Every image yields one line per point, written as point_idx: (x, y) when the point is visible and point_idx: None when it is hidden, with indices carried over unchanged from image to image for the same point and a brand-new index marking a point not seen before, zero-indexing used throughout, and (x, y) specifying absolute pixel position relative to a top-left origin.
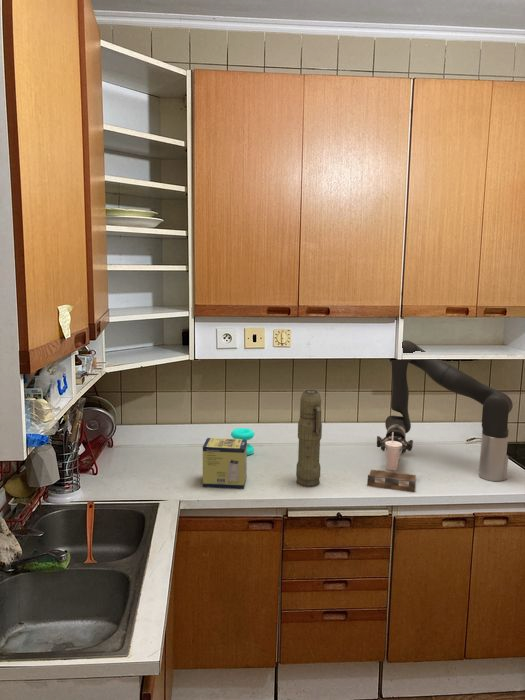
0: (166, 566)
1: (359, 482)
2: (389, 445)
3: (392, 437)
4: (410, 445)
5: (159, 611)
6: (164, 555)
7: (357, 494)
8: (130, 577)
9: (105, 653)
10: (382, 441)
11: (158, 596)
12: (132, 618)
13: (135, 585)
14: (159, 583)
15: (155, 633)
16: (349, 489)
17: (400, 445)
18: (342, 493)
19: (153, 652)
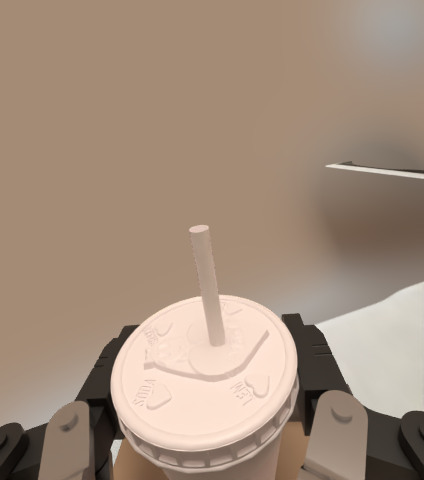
0: (399, 175)
1: None
2: (238, 297)
3: (209, 281)
4: (6, 430)
5: (351, 169)
6: (420, 177)
7: (334, 333)
8: (406, 169)
9: (345, 162)
10: (360, 419)
11: (366, 170)
12: (359, 166)
13: (392, 169)
14: (380, 172)
15: (337, 167)
16: (383, 357)
17: (144, 325)
18: (380, 323)
19: (326, 166)
